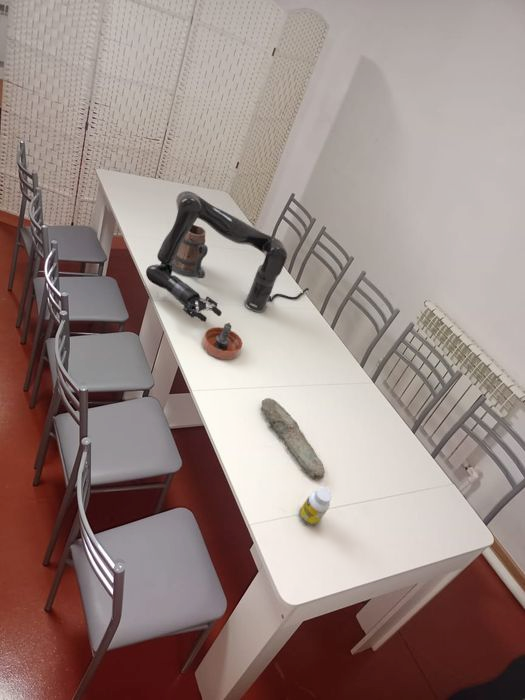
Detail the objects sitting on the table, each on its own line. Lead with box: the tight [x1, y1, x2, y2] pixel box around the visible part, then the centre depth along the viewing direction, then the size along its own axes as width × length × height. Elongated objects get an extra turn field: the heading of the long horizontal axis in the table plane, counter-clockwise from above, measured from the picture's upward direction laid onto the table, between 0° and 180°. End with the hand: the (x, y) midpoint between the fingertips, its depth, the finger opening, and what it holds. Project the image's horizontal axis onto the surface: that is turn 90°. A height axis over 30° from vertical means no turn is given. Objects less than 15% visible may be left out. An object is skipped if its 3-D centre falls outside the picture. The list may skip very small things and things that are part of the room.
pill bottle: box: [299, 487, 333, 526], centre depth 142 cm, size 6×6×12 cm
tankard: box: [172, 224, 208, 279], centre depth 224 cm, size 24×17×20 cm
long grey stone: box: [261, 397, 326, 480], centre depth 166 cm, size 35×5×10 cm
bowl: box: [202, 326, 243, 360], centre depth 192 cm, size 15×15×4 cm
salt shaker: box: [214, 322, 232, 351], centre depth 190 cm, size 6×6×12 cm
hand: (213, 317), depth 191 cm, fingers open, 8 cm apart
